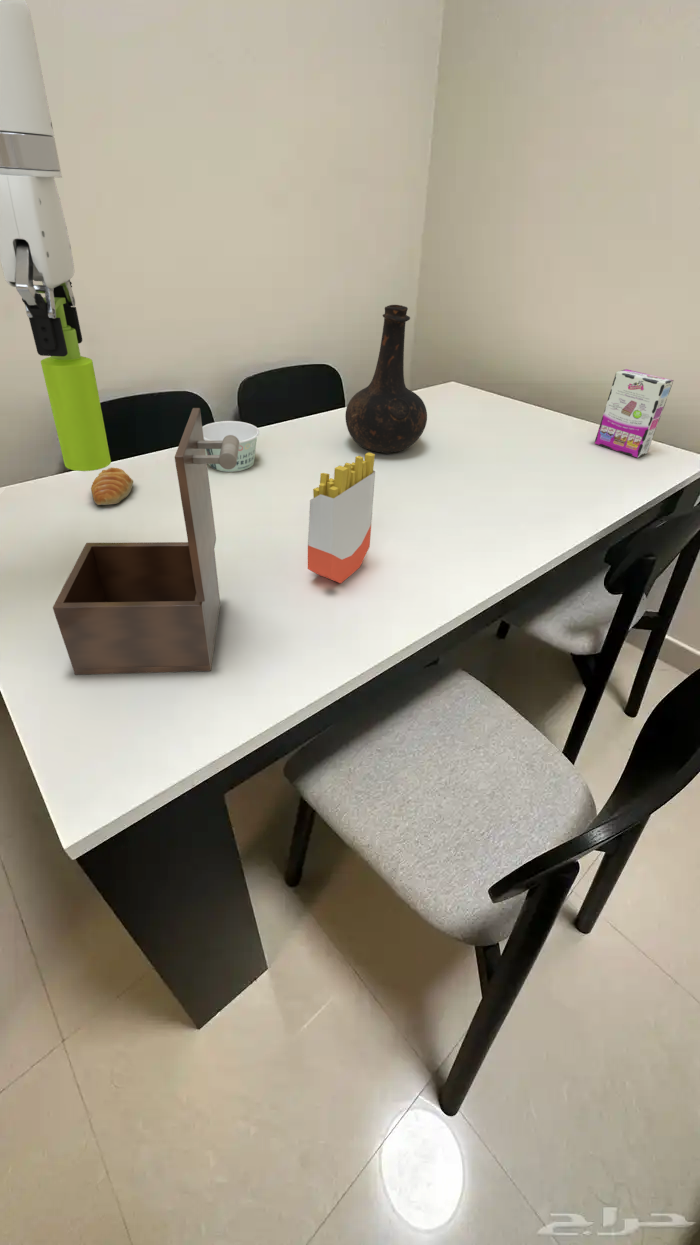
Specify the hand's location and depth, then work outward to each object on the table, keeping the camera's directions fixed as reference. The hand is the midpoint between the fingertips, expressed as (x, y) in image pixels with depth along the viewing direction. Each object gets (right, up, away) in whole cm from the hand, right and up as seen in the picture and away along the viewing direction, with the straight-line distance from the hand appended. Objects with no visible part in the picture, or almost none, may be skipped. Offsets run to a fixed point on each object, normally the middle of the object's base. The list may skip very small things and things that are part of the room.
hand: (61, 347), depth 70 cm
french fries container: (+33, -25, +19) cm, 46 cm away
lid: (+18, -20, -6) cm, 27 cm away
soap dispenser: (-1, -12, +9) cm, 15 cm away
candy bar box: (+98, +7, +66) cm, 119 cm away
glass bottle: (+42, +6, +60) cm, 74 cm away
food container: (+10, -1, +49) cm, 50 cm away
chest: (+10, -35, +5) cm, 37 cm away
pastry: (-8, -10, +36) cm, 38 cm away
